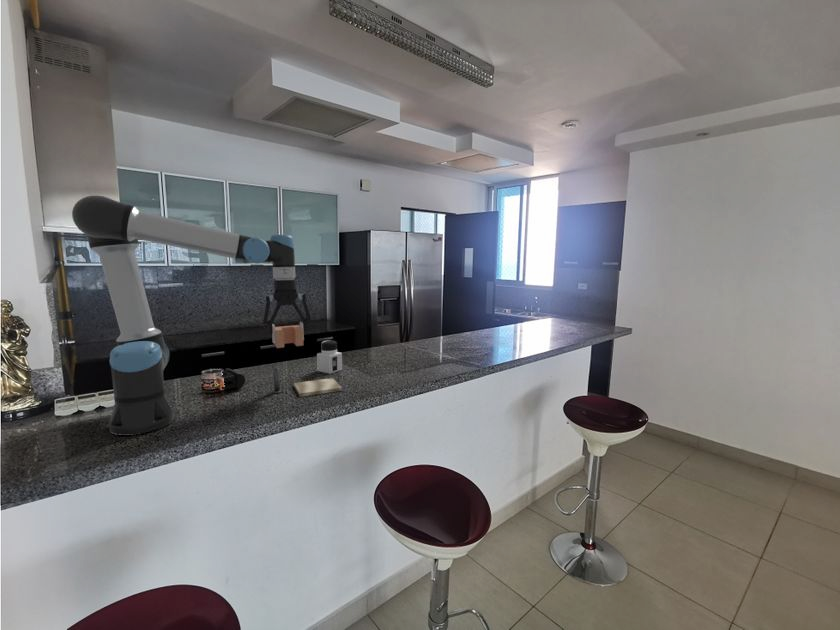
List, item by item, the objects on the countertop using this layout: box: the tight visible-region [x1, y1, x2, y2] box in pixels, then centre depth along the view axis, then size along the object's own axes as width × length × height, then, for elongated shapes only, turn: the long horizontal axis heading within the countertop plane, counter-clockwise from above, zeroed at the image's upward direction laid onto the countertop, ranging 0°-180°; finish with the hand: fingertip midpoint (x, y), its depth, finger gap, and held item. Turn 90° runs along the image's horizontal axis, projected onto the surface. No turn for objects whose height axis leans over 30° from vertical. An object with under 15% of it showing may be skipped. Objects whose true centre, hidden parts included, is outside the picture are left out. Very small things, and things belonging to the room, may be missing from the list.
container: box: [316, 339, 343, 375], centre depth 167 cm, size 8×8×13 cm
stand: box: [272, 367, 282, 395], centre depth 139 cm, size 3×3×9 cm
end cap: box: [220, 368, 246, 394], centre depth 143 cm, size 10×7×7 cm
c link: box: [273, 324, 305, 349], centre depth 140 cm, size 9×9×6 cm
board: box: [293, 377, 343, 398], centre depth 144 cm, size 15×13×1 cm
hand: (288, 341), depth 140 cm, fingers closed on c link, 9 cm apart
